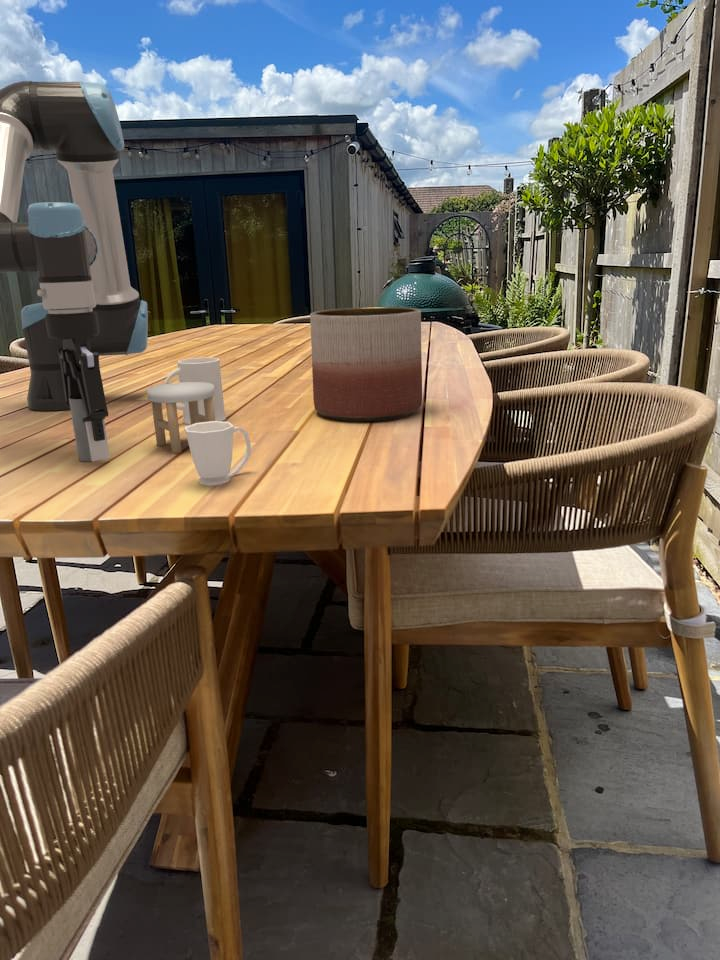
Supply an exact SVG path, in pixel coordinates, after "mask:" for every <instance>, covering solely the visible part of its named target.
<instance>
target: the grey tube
mask: <svg viewBox="0 0 720 960" xmlns="http://www.w3.org/2000/svg"><path fill="white" fill-rule="evenodd" d="M69 402H70V408H71V412H70V414H72V416H71V421H72V420H73V422H72V426H74V428H73V432H75V434H74V439H75V438H76V440H75V445H76V444H77V446H76V451H77V450H78V451H77V456H78V460H79V461H81V462H88V463H89V462H92V461H91V454H90V448H89V442H88V436H87V429H86V423H85V422H83V420H82V419H83V418H85V417H86V412H85V408H84V405H83V401H82V397H81V394H79V395H74V396H71V397H69ZM95 411H96V410H95Z"/></svg>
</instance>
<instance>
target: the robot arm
mask: <svg viewBox="0 0 720 960" xmlns="http://www.w3.org/2000/svg"><path fill="white" fill-rule="evenodd" d="M124 149H125V141H124V135H123V130H122V125H121V122H120V118H119V114H118V111H117V107H116V105H115V101H114V99H113V95H112V94H111V91H110V89H108V87H107V86H105V85H104V84H102V83H97V82H89V81H83V80H81V81H31V80H22V81H17V82H12V83H11V84H8V85H6V86H5V87H3V88H1V89H0V274H1V273H3V274H6V273H21V272H22V273H24V272H29V273H30V272H32V273H33V272H36V273H37V277H38V283H39V288H40V289H37V290H36V295H37V296H38V297H41V301H42V302H38V303H32V304H28V305H25V306H23V307H22V308H21V311H20V316H21V317H20V318H21V325H22V326H21V330H22V332H23V337H24V343H25V349H26V353H27V358H28V363H29V368H30V378H29V384H28V390H27V396H26V401H27V407H28V409H29V410H31V411H32V410H33V411H37V412H38V411H39V412H41V411H44V412H45V411H46V412H50V411H64V410H69V411H70V414H71V408H70V402H69V397H71V396H74V395H79V394H81V397H82V401H83V405H84V408H85V412H86V417H85V418H83V419H82V420H83V422H85V423H86V429H87V436H88V442H89V448H90V454H91V461H90V462H99V461H104V460H109V459H111V455H110V449H109V448H110V447H109V442H108V437H107V436H108V435H107V429H106V422H105V419H106V418H108V417H109V411H108V406H107V401H106V395H105V390H104V385H103V380H102V374H101V369H100V357H104V356H105V357H106V356H123V355H124V356H128V355H132V354H133V355H134V354H135V355H136V354H142V353H144V352H145V351H146V350H147V347H148V335H149V334H148V333H149V331H148V328H149V324H148V323H149V322H148V321H149V319H148V318H149V314H148V313H149V311H148V303H147V301H145V300H142V299H140V293H139V291H138V290H136V288H133V287H132V286H131V281H130V274H129V269H128V268H129V266H128V260H127V254H126V249H125V243H124V235H123V230H122V223H121V216H120V215H121V214H120V211H119V210H120V209H119V203H118V198H117V197H118V196H117V190H116V185H115V178H114V172H113V169H114V168H115V165H117V163H118V162H119V160H120V159H119V153H118V152H121V151H124ZM38 150H39V151H43V150H44V151H54V152H55V155H56V160H57V162H58V163H59V164H60V165H61V166H63V168H64V169H66V171H67V175H68V181H69V186H70V191H71V197H72V202H66V201H64V202H63V201H62V202H61V201H60V202H59V201H58V202H56V201H54V202H53V201H50V202H49V201H48V202H35V203H31V204H30V205H28V208H27V217H28V222H20V221H19V222H18V218H19V210H20V203H21V195H22V188H23V181H24V174H25V173H24V172H25V166H26V165H25V164H26V160H27V159H29V158H30V156H31V155H32V153H33V152H34V151H38ZM95 410H96V411H95ZM70 416H71V417H72V414H71V415H70ZM71 423H73V420H72V419H71ZM72 426H73V425H72ZM73 429H74V426H73ZM73 432H74V431H73ZM74 435H75V432H74ZM74 439H75V441H76V438H75V437H74ZM75 445H76V447H77V444H76V443H75ZM76 451H77V452H78V450H77V449H76Z"/></svg>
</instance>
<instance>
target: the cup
mask: <svg viewBox="0 0 720 960" xmlns="http://www.w3.org/2000/svg"><path fill="white" fill-rule="evenodd" d="M183 429H184V431H185V436H186V439H187V443H188V447H189V451H190V454H191V458H192V461H193V464H194V467H195V469H196V472H197V474H198V476H199V477H200V478H199V479H198V481H199V483H200V485H201V486H209V487H211V486H212V487H213V486H219V485H225V484H226V483H227V482H229V481H231V480H230V479H231V478H232V477H234V476H236V474H237V473H238V472H240V470H241V469H242V468H243V467H244V465H245V464H246V463H247V462H248V460H249V457H250V456H251V452H252V444H251V443H252V442H251V439H250V436H249V434H248V433H247V431H246V430H245V429H244V428H241V427H238V426H234V425H233V423H231V421H209V422H200V423H195V424H192V425H186V426H185V427H184V428H183ZM238 431H240V433H241V434H242V435H243V437H244V441H245V445H246V448H245V449H246V450H245V454H244V456H243V458H242V460H240V462H239V463H238V464H237V465H236V466H235V468H234V469H233V470H231V466H232V462H233V447H234V445H233V444H234V433H236V432H238Z"/></svg>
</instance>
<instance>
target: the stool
mask: <svg viewBox="0 0 720 960" xmlns="http://www.w3.org/2000/svg"><path fill="white" fill-rule="evenodd" d="M146 392H147V393H146V394H147V400H148V401H149V402H151V410H152V416H153V417H152V418H153V425H154V432H155V442H156V446H157V447H161V446H162V447H163V445H164V446H166V445H167V439H166V431H168V432H169V440H170V450H171V454H180V453H182V444H181V436H180V425H179V418H178V409H177V408H176V404H177V403H178V404H180V403H182V402H188V404H189V413H190V422H191V425H192V424H195V423H200V422H209V421H215V412H214V402H213V396H214V395H215V392H214V385H213V384H211V383H206V382H180V381H179V382H171V383H170V382H169V383H168V384H164V383H163V384H158V385H155V386H152V387H151V386H150V387H149V388H147V389H146ZM203 399H204V409H205V416H204V415H201V414H199V410H198V401H197V400H203ZM162 404H165V408H166V415H167V416H166V417H167V420H164V416H163V405H162Z"/></svg>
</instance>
